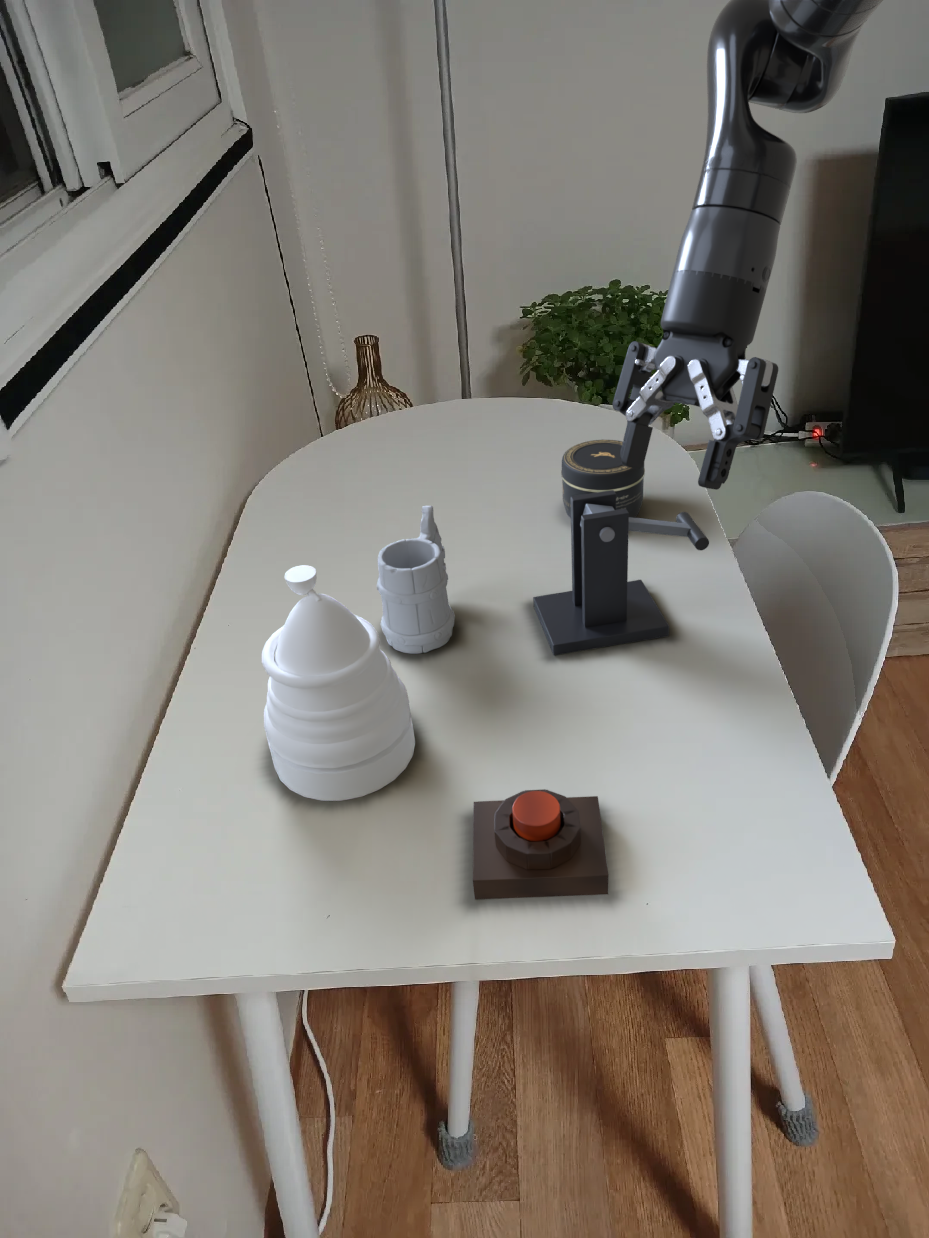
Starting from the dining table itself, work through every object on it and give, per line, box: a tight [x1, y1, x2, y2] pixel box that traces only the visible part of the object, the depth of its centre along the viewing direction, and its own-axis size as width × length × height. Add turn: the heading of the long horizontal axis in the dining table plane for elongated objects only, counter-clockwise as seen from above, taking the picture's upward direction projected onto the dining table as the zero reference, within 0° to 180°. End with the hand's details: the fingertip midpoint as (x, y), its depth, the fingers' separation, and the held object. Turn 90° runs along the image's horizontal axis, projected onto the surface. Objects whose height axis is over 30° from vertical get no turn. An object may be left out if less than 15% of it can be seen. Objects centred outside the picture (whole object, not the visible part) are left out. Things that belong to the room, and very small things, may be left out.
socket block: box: [472, 788, 609, 901], centre depth 73 cm, size 10×8×4 cm
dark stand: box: [532, 490, 670, 656], centre depth 96 cm, size 12×9×14 cm
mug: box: [376, 505, 456, 655], centre depth 98 cm, size 8×12×12 cm, turn 162°
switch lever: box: [580, 504, 710, 551], centre depth 94 cm, size 12×6×2 cm, turn 99°
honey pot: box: [261, 564, 416, 802], centre depth 81 cm, size 13×13×18 cm
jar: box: [560, 439, 646, 519], centre depth 116 cm, size 10×10×8 cm
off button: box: [512, 791, 561, 842], centre depth 72 cm, size 4×4×2 cm
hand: (668, 477), depth 80 cm, fingers open, 8 cm apart
